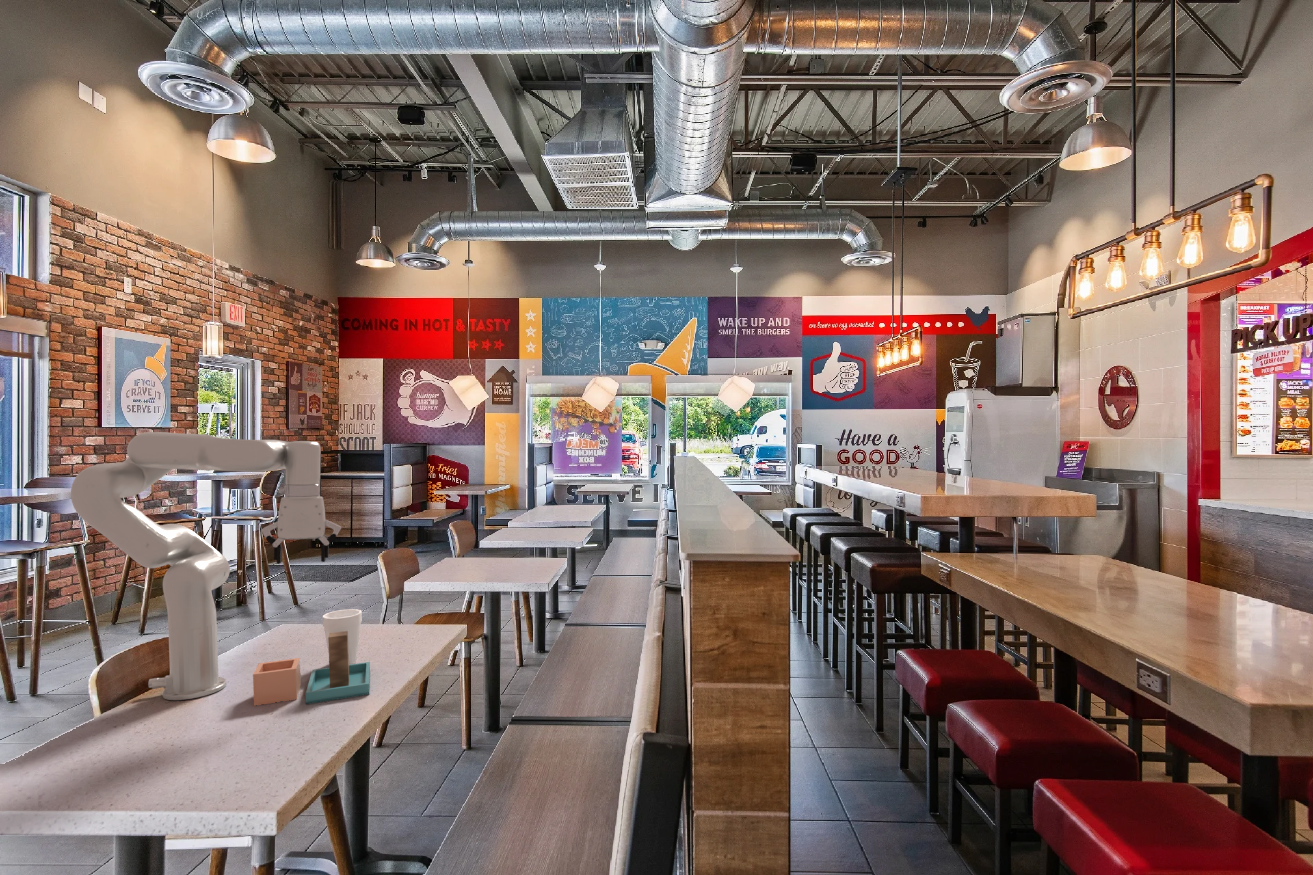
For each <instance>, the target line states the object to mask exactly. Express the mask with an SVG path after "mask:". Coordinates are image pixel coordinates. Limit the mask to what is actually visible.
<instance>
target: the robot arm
mask: <svg viewBox="0 0 1313 875" xmlns="http://www.w3.org/2000/svg"><path fill="white" fill-rule="evenodd" d="M126 447H127V449H126V453H127V458H126V459H125V460H124V461H122V462H111V463H100V464H95V465H90V466H88V467H86V468H84V469H83V470H81V471H80V472H79V473H77V475H76V476H75V478H74V479H73V481H72V484H71V486H70V488H71V489H70V499H71V503H72V506H73V508H74V510H75V512H76V513H77V515H78V516H79V517H80V518H81V519H82V520H83V521H84V522H86V523H87V524H88V525H89V527H90V526H91V527H92V528H93V529H95V530H96V531H97V532H98V533H99V534H101V535H102V536H104V537H105V538H106V539H107V540H109V541H110V542H111V543H112V544H114V546H116V547H117V548H119V550H121V551H122V552H123V553H125V554H126V555H127V556H128V557H130V558H131V559H132V560H133V561H134V562H136V563H137V564H138V565H141V566H142V567H144V568H148V569H156V568H162V567H163V566H168V565H169V566H170V567H169V568H168V569H167V570H166V572H165V574H164V576H163V578H162V592H163V595H164V596H163V597H164V601H165V604H166V610H167V627H168V628H167V629H168V649H169V650H168V652H169V653H168V654H169V656H168V657H169V675H165V676H164V677H154V678H149V679H148V688H149V689H150V688H151V689H152V690H154V689H156V690H157V689H159V688H163V691H162V692H161V693H162V699H165V700H169V701H183V700H192V699H197V698H201V697H206V696H208V695H212V694H215V693H217V692H219V691H221V690H223V689H224V688H225V687H226V685H227V679H226V678H224V677H221V676H219V656H218V654H219V653H218V652H219V651H218V626H217V625H218V622H217V610H216V604H215V600H214V598H213V597H214V596H213V593H212V592H213V590H216V589H217V588H219V587H220V586H221V587H222V585H223V584H225V582H226V581H227V580H228V578H229V576H230V572H231V568H230V564H229V561H228V560H227V558H226V557H225V555H223V554H222V553H221V552H220V551H219V550H217V549H216V548H215V547H213V546H212V545H211V544H210V543H208V542H207V541H206V540H205V539H203V537H201V536H200V535H198V534H197V533H196V532H195V531H194V530H192V529H190V528H189V527H187V526H184V525H182V524H178V523H168V524H166V523H165V524H163V525H162V524H161V525H160V524H159V523H156V522H155V521H153V520H152V519H151V518H149V517H148V516H146V515H145V514H144V512H142V511H141V510H139V509H138V508H136V507H135V506H133V505H131V504H129V503H126V502H125V501H124V500H122V499H124V498H129V497H133V496H136V495H138V494H141V493H143V492H144V491H146V490H147V489H148V488H150V487H151V486H152V485H154V484H155V483H156V482H158V481H159V480H161V479H162V478H163V477H164V476H166V475H167V474H169V473H170V472H171V471H172V470H188V471H189V470H192V471H193V470H194V471H205V472H206V471H207V472H209V471H210V472H211V471H224V472H244V473H245V472H248V473H249V472H250V473H263V472H271V471H278V470H285V485H284V486H282V487H281V486H278V493H279V494H280V493H281V494H283V495H284V496H283V497H281V499H280V502H279V507H278V508H279V510H278V516H277V517H278V518H277V521H276V522H274V523H271V524H269V525H267V526H265V527H263V528H262V529H261V530H260V531H261V532H262V534H263V536H264V538H265V540H266V541H267V542H268V543H269V544H271V546H272V547H273V548H274V550H273V551H274V552H273V560H274V561H276V565H280V564H281V563H282V562H283V546H282V543H283V541H284V540H315V539H318V540H319V541H320V542H321V543H322V544H321V548H320V549H321V552H320V554H321V555H320V559H321V560H320V562H322V563H325V562H326V559H327V558H329V549H330V548H329V546H330V545H329V544H330V543H332V542H333V541H335V539H336V538H337V536H338V534H339V533H340V531H341V530H342V526H341V525H339V524H337V523H334V522H332V521H330V520H328V519H326V510H325V502H324V497H323V496H321V459H322V458H321V454H322V453H321V452H322V450H321V448H322V447H321V445H320V443H319V442H318V441H309V440H294V441H287V440H286V441H285V440H279V439H240V438H239V439H238V438H223V437H216V436H213V435H211V434H205V433H204V434H199V433H180V432H179V433H177V432H166V431H165V432H164V431H158V432H157V431H148V432H142V433H139V434H137V435H135V436H134V437H133V438H131V439H130V441H129V443H128V445H127V446H126ZM326 527H328V529H329V528H330V529H332V530H333V532H332V533H331V534H330V535H329V536H327V535H326V534H325V533H326ZM274 529H277V538H275V537H274V536H273V535H272V533H271V531H272V530H274Z"/></svg>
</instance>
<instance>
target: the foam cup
mask: <svg viewBox="0 0 1313 875" xmlns="http://www.w3.org/2000/svg"><path fill="white" fill-rule="evenodd" d="M362 613H363V611H362V610H361V609H356V608H355V609H354V608H351V609H350V608H349V609H339V610H333V611H330V612H327V613H325V614H323V615H322V626H323V628H324V634H325V640H326V641H325V642H326V645H327V652H328V654H329V643H328V637H329V633H334V632H342V631H348V654H349V665H350V664H354V663H355V662H356V663H357V662H358V655H359V646H360V644H359V643H360V635H361V625H362V622H363V617H362V615H363V614H362ZM356 663H355V664H356Z"/></svg>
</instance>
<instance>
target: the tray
mask: <svg viewBox="0 0 1313 875" xmlns="http://www.w3.org/2000/svg"><path fill="white" fill-rule="evenodd" d="M370 684H371V662H370V661H366V662H365V661H364V662H358V663H357V662H356V663H355V664H350V665H349V686H343V687H336V688H330V674H329V667H323V668H316V669H312V670H311V674H310V677H309V681H308V684H307V688H306V691H305V704H306V705H309V704H310V705H311V704H317V703H323V702H329V701H336V700H342V699H343V700H344V699H348V698H349V699H350V698H355V697H364V696H369V695H370V688H371V687H370V686H371V685H370Z"/></svg>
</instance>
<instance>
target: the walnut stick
mask: <svg viewBox="0 0 1313 875" xmlns="http://www.w3.org/2000/svg"><path fill="white" fill-rule="evenodd" d="M328 643H329V653H328V665H329V666H328V668H329V674H330V688H336V687H343V686H349V654H348V631H342V632H334V633H329V637H328Z"/></svg>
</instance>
